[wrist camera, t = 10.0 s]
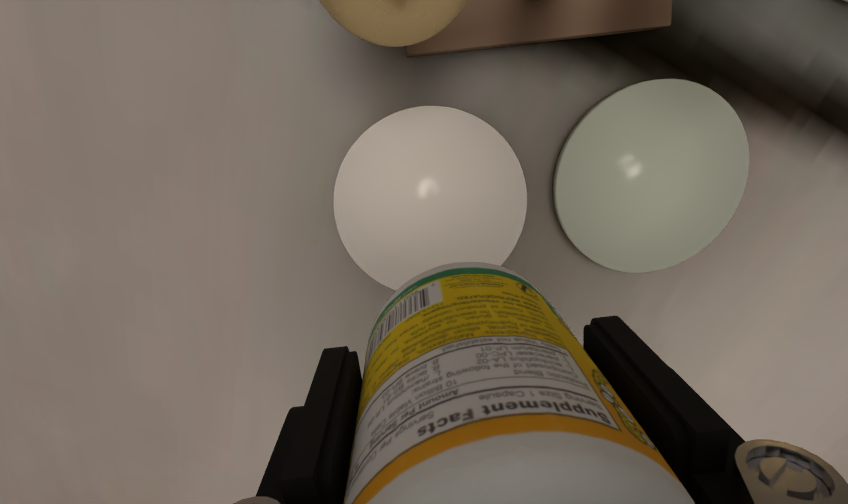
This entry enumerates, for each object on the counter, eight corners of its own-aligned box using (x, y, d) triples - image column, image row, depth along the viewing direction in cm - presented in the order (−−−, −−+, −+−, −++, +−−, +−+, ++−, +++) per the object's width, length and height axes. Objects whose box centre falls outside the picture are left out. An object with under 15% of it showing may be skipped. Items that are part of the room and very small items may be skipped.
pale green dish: (745, 69, 29) (761, 67, 28) (724, 255, 33) (737, 262, 32) (548, 91, 29) (555, 90, 28) (551, 275, 33) (557, 282, 32)
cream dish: (518, 95, 29) (523, 94, 28) (525, 278, 33) (530, 285, 32) (321, 117, 29) (317, 117, 28) (352, 298, 33) (350, 306, 32)
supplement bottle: (370, 253, 11) (233, 813, 2) (572, 259, 12) (1141, 788, 3) (368, 424, 13) (282, 1138, 4) (544, 426, 13) (835, 1098, 4)
